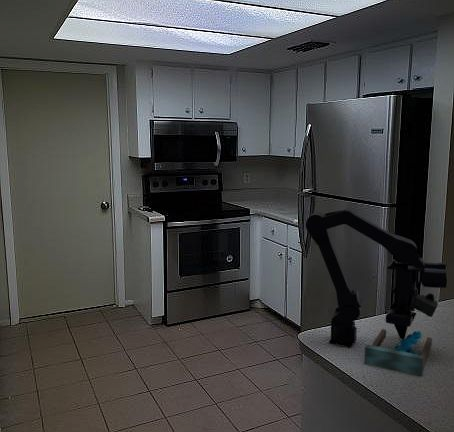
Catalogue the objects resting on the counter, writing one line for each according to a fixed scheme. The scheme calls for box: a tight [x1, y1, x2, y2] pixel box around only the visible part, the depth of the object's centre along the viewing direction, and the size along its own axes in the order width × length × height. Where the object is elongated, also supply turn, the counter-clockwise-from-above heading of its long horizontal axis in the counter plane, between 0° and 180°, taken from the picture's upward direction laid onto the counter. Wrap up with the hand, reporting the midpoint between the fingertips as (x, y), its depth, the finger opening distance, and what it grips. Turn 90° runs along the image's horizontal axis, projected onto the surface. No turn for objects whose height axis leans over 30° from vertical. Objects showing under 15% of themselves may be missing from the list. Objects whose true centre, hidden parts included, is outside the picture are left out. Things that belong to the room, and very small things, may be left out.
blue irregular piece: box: [393, 330, 423, 355], centre depth 123 cm, size 11×6×10 cm
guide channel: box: [363, 328, 433, 377], centre depth 126 cm, size 14×22×4 cm, turn 150°
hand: (402, 338), depth 129 cm, fingers closed
